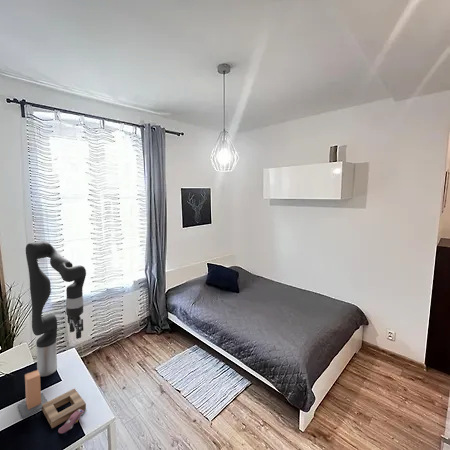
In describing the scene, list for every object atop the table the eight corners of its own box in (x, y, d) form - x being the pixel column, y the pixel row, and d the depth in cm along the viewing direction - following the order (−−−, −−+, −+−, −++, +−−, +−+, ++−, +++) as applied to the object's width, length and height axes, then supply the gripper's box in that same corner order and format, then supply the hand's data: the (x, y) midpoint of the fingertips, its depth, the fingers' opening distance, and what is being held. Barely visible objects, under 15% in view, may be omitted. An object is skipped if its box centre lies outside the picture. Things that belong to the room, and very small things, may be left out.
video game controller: (64, 439, 108) (70, 427, 107) (56, 432, 108) (62, 421, 107) (81, 419, 118) (87, 408, 116) (74, 413, 118) (79, 402, 117)
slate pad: (17, 406, 121) (17, 404, 121) (42, 394, 129) (42, 392, 129) (23, 418, 115) (23, 416, 115) (48, 405, 123) (48, 403, 122)
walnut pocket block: (42, 410, 120) (41, 404, 119) (74, 393, 130) (74, 388, 130) (52, 428, 111) (51, 422, 110) (85, 409, 121) (85, 403, 121)
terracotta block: (26, 403, 122) (24, 374, 120) (38, 397, 126) (37, 369, 124) (28, 409, 118) (26, 380, 117) (41, 403, 122) (40, 374, 121)
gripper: (61, 302, 130) (62, 332, 132) (72, 311, 121) (72, 343, 123) (77, 298, 136) (77, 327, 138) (88, 306, 127) (88, 337, 129)
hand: (75, 334), depth 131 cm, fingers open, 8 cm apart
